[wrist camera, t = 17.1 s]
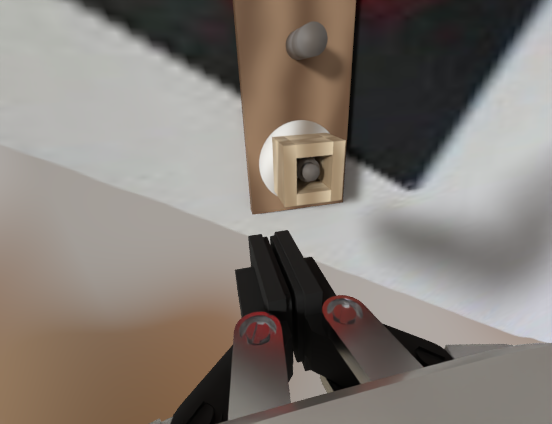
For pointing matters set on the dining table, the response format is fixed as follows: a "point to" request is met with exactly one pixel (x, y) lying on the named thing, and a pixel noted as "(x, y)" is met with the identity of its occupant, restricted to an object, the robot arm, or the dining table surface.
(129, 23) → the dining table surface
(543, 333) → the dining table surface
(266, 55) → the hub board
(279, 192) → the collar
